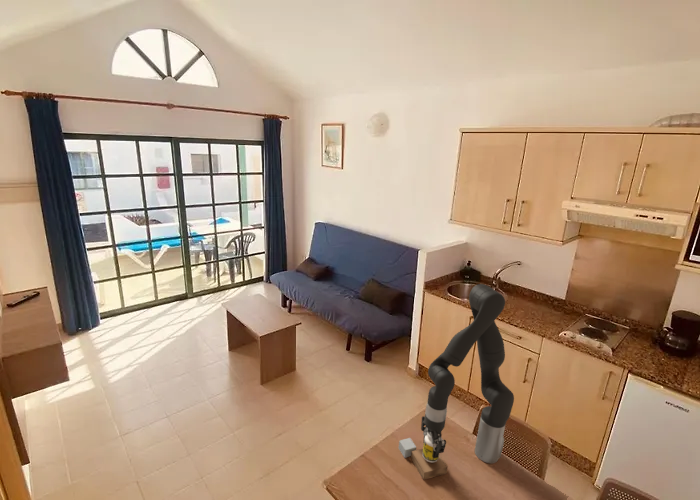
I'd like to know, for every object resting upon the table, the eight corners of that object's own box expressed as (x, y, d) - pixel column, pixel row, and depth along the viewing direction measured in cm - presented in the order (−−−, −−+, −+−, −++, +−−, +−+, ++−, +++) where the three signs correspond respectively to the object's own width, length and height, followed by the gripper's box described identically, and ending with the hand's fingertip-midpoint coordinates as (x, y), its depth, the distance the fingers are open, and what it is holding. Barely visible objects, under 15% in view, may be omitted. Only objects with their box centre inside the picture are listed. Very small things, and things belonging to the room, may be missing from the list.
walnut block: (432, 452, 147) (433, 445, 146) (446, 473, 138) (447, 466, 137) (410, 458, 144) (411, 451, 143) (423, 479, 135) (424, 472, 134)
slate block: (409, 445, 151) (410, 437, 149) (415, 454, 146) (416, 447, 145) (398, 448, 149) (399, 440, 148) (404, 458, 144) (405, 450, 143)
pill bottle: (418, 453, 141) (421, 430, 138) (431, 447, 144) (434, 425, 141) (429, 465, 136) (432, 441, 133) (441, 459, 139) (445, 436, 136)
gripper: (455, 426, 129) (449, 463, 134) (434, 399, 142) (429, 434, 147) (437, 430, 127) (431, 468, 131) (417, 402, 140) (413, 437, 144)
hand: (430, 450), depth 139 cm, fingers closed on pill bottle, 6 cm apart
